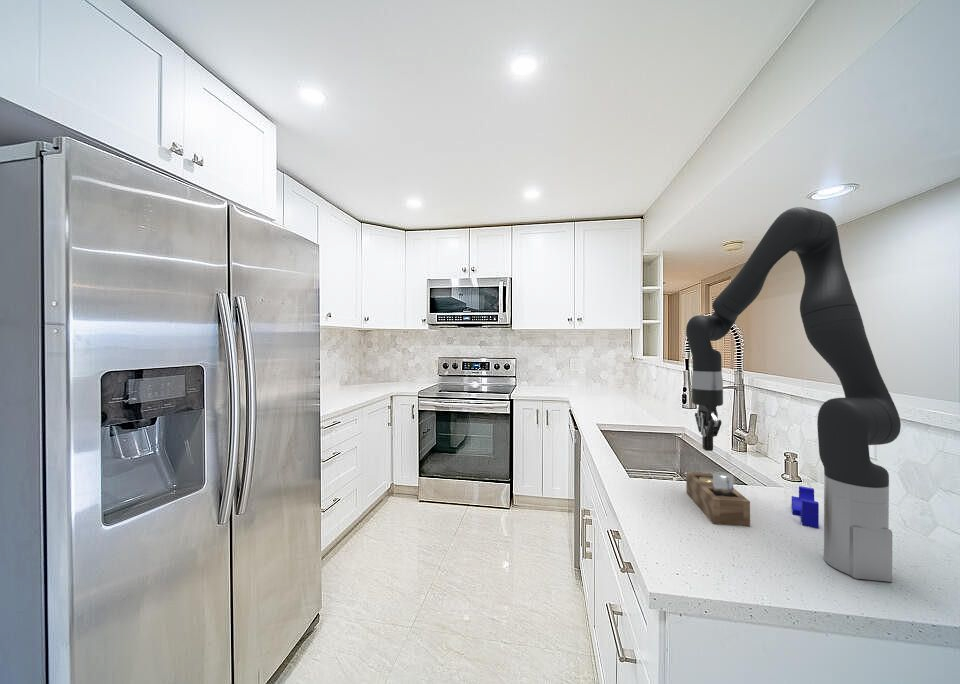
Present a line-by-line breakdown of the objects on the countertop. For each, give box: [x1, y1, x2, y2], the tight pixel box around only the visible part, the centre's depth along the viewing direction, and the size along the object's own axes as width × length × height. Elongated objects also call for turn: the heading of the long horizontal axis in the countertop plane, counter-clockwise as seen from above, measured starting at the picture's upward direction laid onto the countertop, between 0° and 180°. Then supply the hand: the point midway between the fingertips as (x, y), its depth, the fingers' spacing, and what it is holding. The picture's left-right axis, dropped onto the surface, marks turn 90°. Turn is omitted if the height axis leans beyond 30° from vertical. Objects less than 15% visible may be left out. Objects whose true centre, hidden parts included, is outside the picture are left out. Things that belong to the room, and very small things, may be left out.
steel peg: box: [712, 471, 734, 497], centre depth 101 cm, size 4×4×6 cm
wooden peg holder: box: [685, 471, 751, 528], centre depth 105 cm, size 20×8×6 cm, turn 170°
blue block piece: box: [791, 485, 820, 530], centre depth 100 cm, size 12×4×6 cm, turn 144°
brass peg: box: [699, 477, 713, 482], centre depth 110 cm, size 4×4×6 cm
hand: (707, 450), depth 110 cm, fingers closed
